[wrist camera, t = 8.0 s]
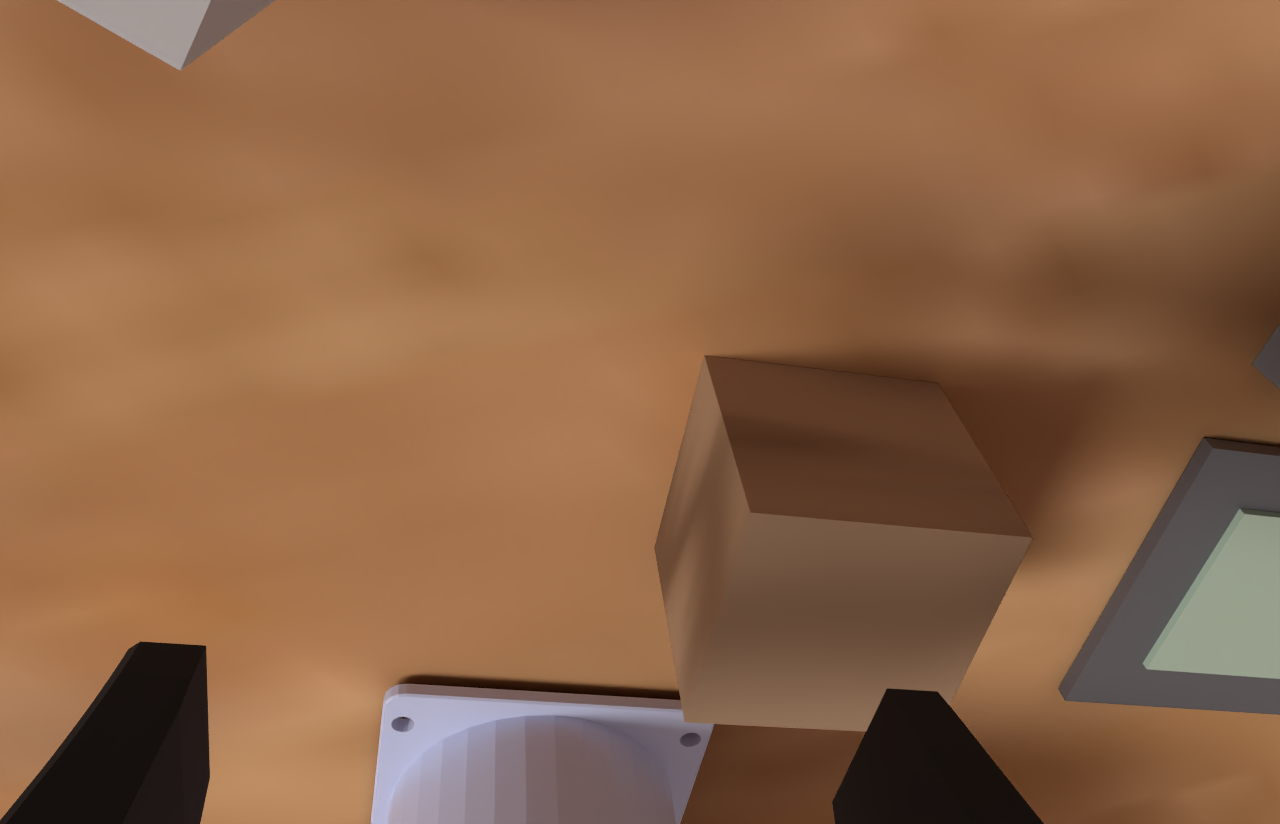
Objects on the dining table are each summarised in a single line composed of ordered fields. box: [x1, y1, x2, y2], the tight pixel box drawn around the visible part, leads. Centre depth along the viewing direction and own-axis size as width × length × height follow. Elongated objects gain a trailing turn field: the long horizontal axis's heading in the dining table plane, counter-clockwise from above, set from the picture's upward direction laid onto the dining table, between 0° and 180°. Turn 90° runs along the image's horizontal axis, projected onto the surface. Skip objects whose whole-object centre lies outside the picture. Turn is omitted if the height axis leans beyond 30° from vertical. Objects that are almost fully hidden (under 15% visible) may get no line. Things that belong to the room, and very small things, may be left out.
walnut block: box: [654, 356, 1033, 732], centre depth 21 cm, size 5×5×5 cm
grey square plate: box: [1058, 438, 1280, 715], centre depth 27 cm, size 8×8×1 cm
